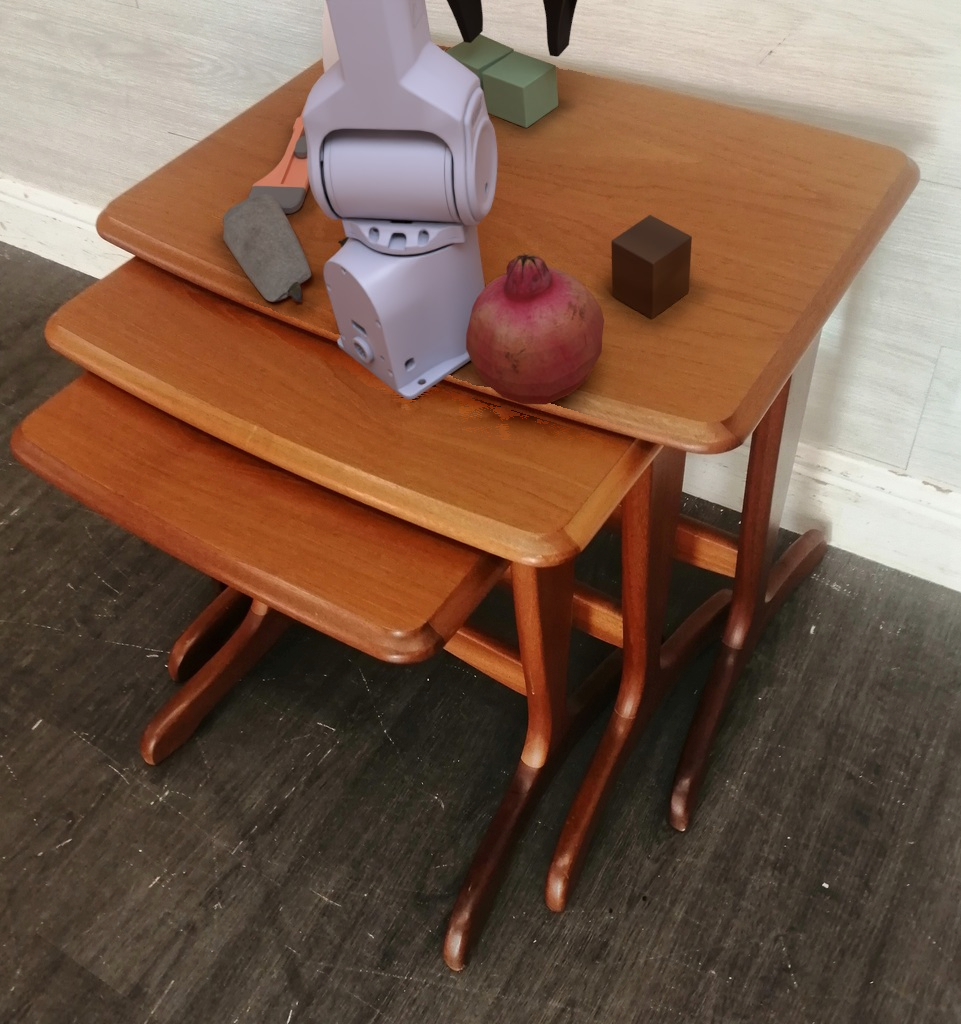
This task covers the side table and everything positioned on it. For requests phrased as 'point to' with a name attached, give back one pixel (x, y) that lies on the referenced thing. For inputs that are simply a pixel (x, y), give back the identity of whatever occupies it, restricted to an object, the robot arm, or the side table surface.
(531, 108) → the sage green cube
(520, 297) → the fruit
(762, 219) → the side table surface
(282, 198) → the utility knife
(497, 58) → the green block
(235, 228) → the stone
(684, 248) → the dark brown block
